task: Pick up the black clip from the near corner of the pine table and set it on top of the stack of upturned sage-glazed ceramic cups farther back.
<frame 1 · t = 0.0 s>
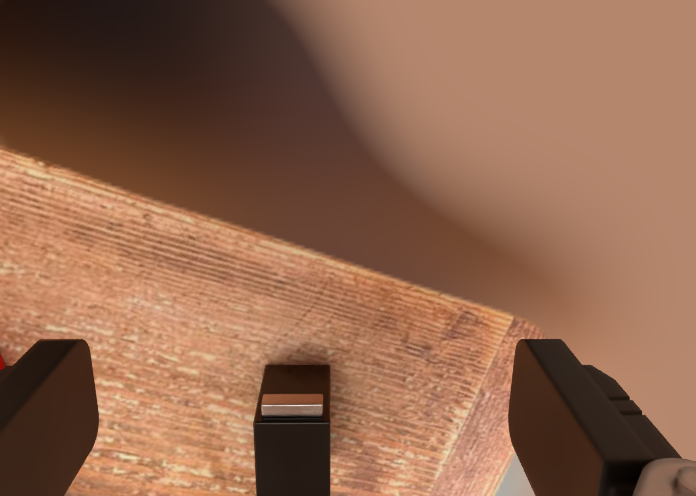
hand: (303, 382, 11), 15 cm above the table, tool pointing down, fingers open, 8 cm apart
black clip: (298, 411, 28), on the table
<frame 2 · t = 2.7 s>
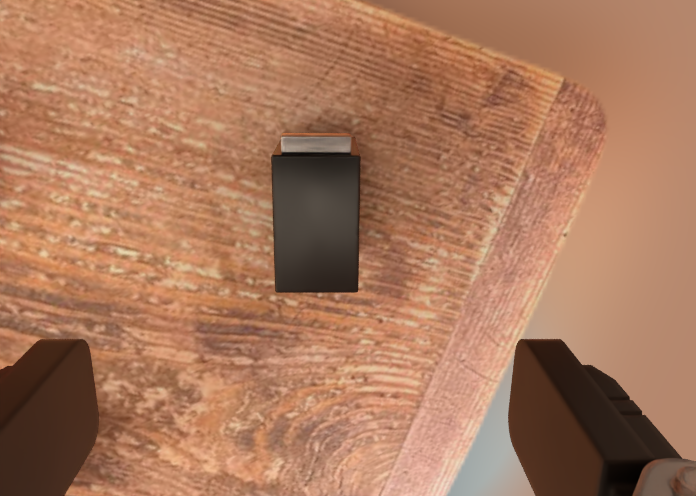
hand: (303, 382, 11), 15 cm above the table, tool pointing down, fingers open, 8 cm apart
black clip: (318, 196, 25), on the table
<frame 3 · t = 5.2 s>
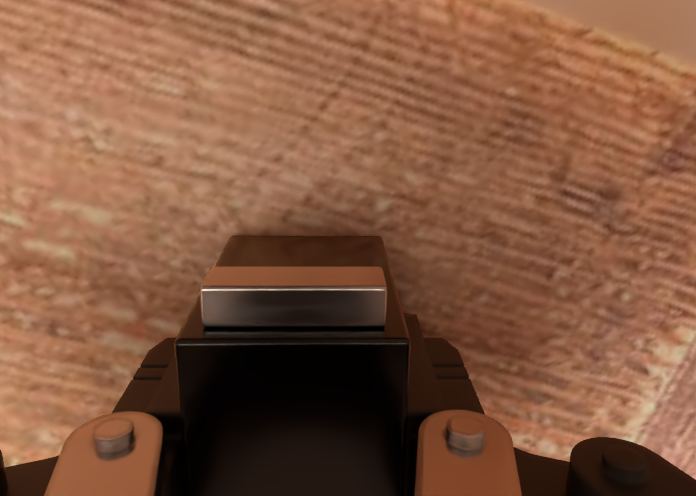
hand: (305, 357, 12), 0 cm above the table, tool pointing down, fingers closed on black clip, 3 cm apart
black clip: (307, 349, 13), on the table, touching gripper
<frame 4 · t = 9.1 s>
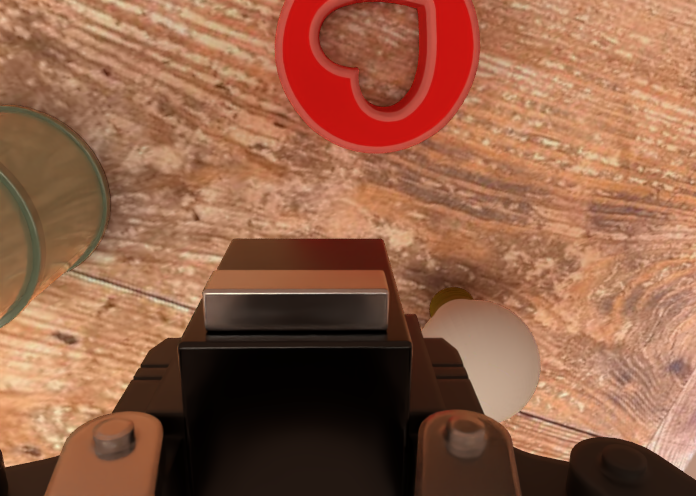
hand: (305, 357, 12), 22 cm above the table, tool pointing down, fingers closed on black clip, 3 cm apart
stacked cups: (21, 194, 33), on the table
light bulb: (448, 300, 36), on the table
decorative ornament: (374, 50, 31), on the table
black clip: (309, 351, 13), point 21 cm above the table, touching gripper
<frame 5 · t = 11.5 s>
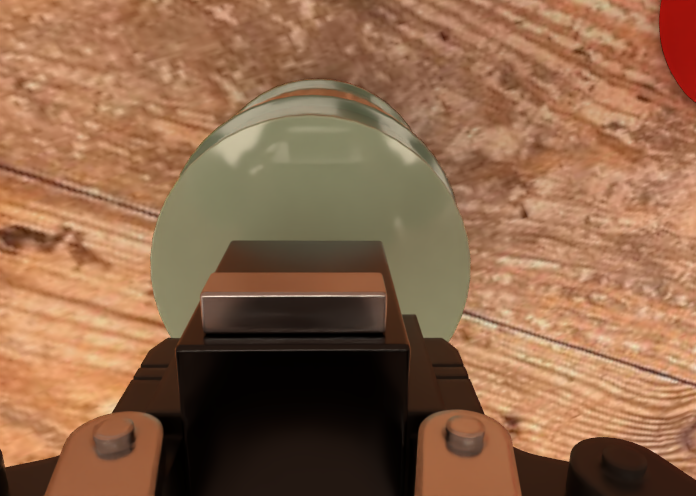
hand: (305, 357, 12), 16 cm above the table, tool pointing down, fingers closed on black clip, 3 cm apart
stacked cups: (319, 189, 27), on the table
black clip: (308, 353, 13), point 15 cm above the table, touching gripper
when the fingers open (11 cm above the table, at t = 12.9 s): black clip stays where it is, resting on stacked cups.
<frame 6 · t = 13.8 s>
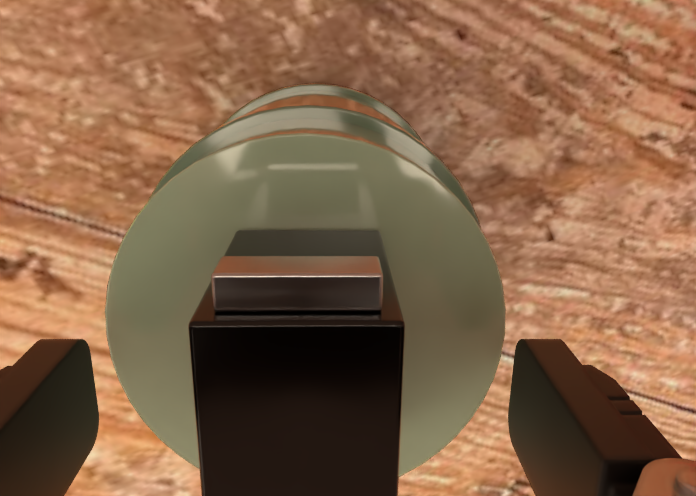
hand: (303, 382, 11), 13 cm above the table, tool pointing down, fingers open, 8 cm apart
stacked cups: (317, 209, 24), on the table
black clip: (309, 337, 13), point 11 cm above the table, touching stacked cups
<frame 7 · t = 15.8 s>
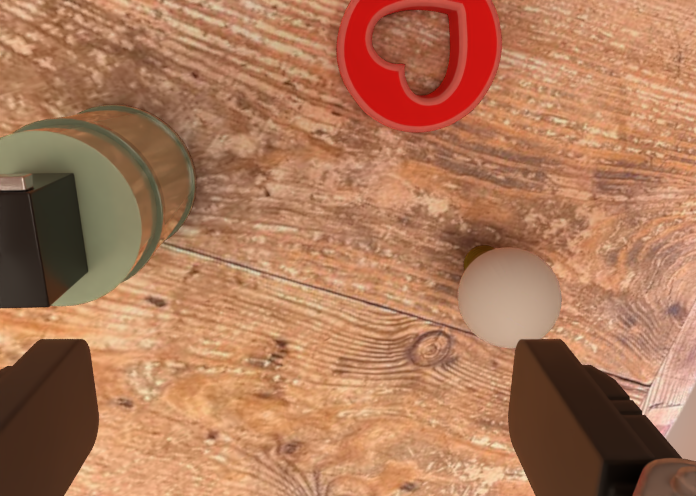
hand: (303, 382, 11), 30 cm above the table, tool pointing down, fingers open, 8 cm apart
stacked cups: (123, 179, 40), on the table
light bulb: (479, 258, 42), on the table
decorative ornament: (413, 49, 38), on the table
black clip: (50, 224, 29), point 11 cm above the table, touching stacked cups
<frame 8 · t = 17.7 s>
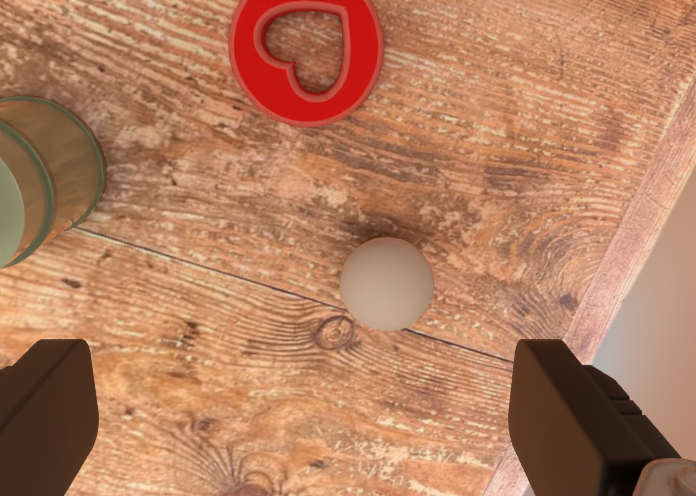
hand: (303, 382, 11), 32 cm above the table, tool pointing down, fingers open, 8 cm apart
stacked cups: (36, 166, 42), on the table
light bulb: (378, 248, 45), on the table
decorative ornament: (308, 48, 40), on the table
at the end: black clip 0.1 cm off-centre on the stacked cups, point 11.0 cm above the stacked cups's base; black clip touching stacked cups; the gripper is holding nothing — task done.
